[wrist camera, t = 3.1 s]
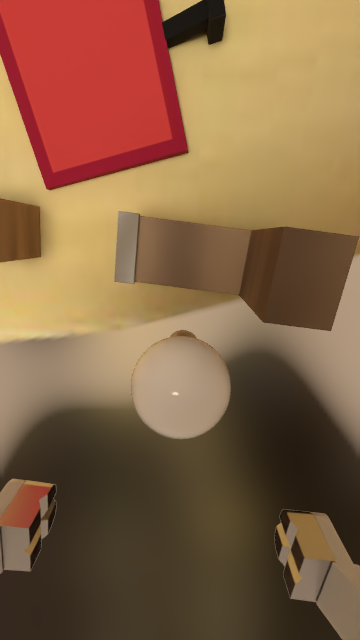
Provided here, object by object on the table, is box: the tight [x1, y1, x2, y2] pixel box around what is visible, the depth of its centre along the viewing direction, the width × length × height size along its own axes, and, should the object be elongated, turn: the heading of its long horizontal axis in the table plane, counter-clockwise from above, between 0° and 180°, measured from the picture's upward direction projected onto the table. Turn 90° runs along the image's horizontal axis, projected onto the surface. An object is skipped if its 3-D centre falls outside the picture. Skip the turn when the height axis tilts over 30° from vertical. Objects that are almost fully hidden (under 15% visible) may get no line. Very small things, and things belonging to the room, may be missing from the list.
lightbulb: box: [131, 330, 231, 439], centre depth 20 cm, size 6×6×11 cm
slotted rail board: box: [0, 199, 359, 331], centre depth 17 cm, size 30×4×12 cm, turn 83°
